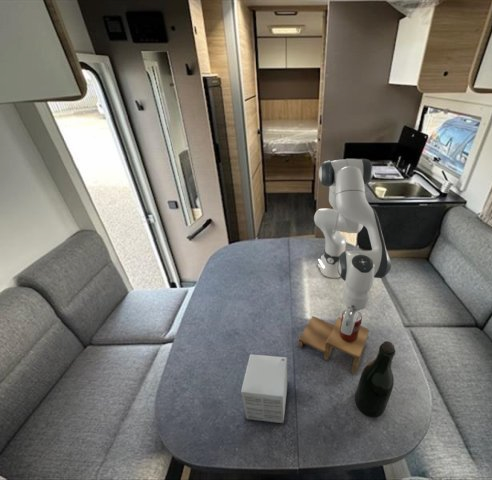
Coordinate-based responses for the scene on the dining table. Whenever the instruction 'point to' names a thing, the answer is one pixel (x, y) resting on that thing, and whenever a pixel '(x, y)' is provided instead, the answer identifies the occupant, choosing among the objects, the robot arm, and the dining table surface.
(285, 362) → the supplement box
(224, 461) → the dining table surface
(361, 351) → the step shelf
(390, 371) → the dark green wine bottle
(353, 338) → the soda can
